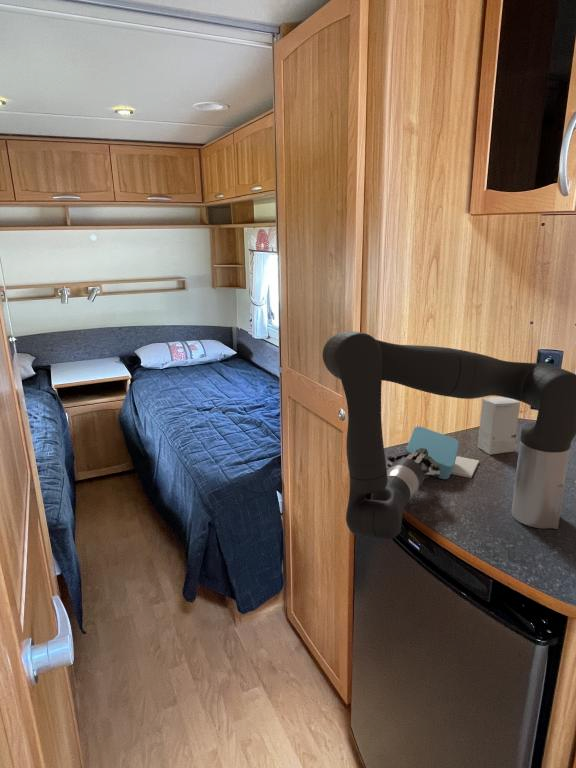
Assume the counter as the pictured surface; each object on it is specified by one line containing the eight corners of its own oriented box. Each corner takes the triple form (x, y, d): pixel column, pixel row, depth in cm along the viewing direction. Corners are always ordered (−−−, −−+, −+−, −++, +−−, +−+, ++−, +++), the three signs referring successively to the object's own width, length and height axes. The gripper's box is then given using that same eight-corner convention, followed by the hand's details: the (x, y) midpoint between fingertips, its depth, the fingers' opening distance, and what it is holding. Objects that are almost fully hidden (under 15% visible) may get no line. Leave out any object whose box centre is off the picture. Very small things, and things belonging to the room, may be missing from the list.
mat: (478, 462, 133) (479, 460, 133) (471, 478, 125) (471, 475, 125) (426, 452, 140) (426, 450, 140) (415, 466, 132) (416, 464, 131)
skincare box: (489, 455, 137) (494, 404, 133) (476, 446, 143) (480, 397, 138) (515, 451, 139) (521, 401, 135) (501, 443, 145) (507, 394, 140)
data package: (448, 481, 123) (455, 452, 133) (453, 468, 121) (460, 439, 130) (401, 464, 127) (411, 437, 136) (405, 451, 124) (415, 424, 133)
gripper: (432, 472, 104) (452, 442, 119) (373, 460, 111) (398, 432, 125) (430, 504, 107) (449, 471, 121) (372, 490, 113) (396, 460, 127)
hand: (423, 451), depth 123 cm, fingers closed
